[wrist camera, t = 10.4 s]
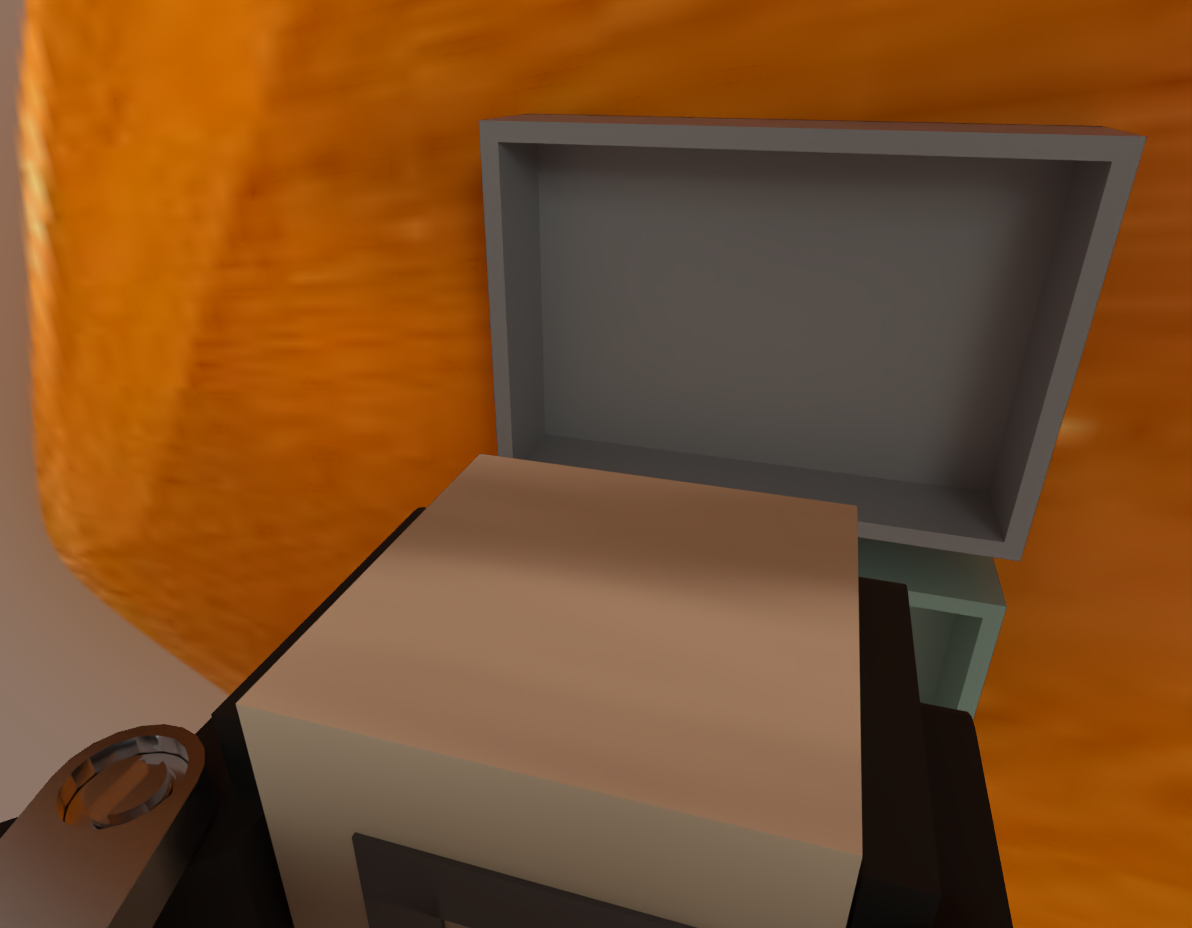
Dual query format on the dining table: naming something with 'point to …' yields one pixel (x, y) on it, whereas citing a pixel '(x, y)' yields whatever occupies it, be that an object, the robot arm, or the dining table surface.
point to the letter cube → (575, 714)
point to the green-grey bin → (944, 615)
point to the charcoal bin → (802, 306)
